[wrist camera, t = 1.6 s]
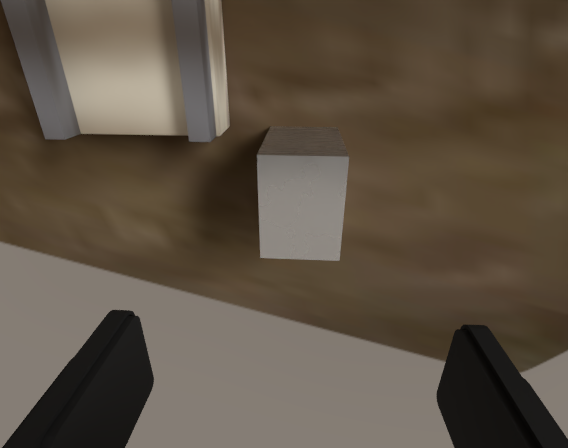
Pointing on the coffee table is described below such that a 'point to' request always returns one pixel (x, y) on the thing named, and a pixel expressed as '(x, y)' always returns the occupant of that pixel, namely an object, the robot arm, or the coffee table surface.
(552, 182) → the coffee table surface
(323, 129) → the tall white block
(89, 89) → the cradle
